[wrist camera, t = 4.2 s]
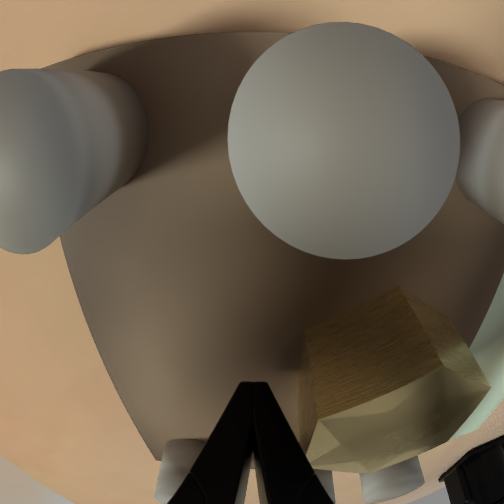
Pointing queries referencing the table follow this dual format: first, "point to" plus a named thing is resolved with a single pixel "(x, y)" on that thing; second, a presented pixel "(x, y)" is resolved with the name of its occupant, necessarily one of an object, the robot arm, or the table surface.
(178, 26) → the table surface
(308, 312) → the board
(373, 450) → the hexagonal box
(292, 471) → the robot arm
